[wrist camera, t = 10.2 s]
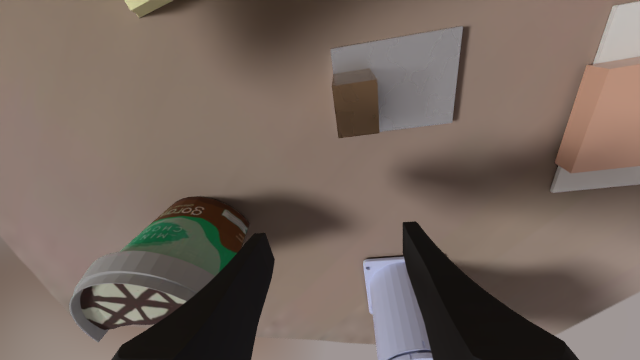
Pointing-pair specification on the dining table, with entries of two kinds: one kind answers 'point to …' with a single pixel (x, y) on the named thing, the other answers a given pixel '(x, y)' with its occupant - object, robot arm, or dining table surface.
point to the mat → (616, 44)
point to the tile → (604, 119)
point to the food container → (159, 267)
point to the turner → (396, 82)
